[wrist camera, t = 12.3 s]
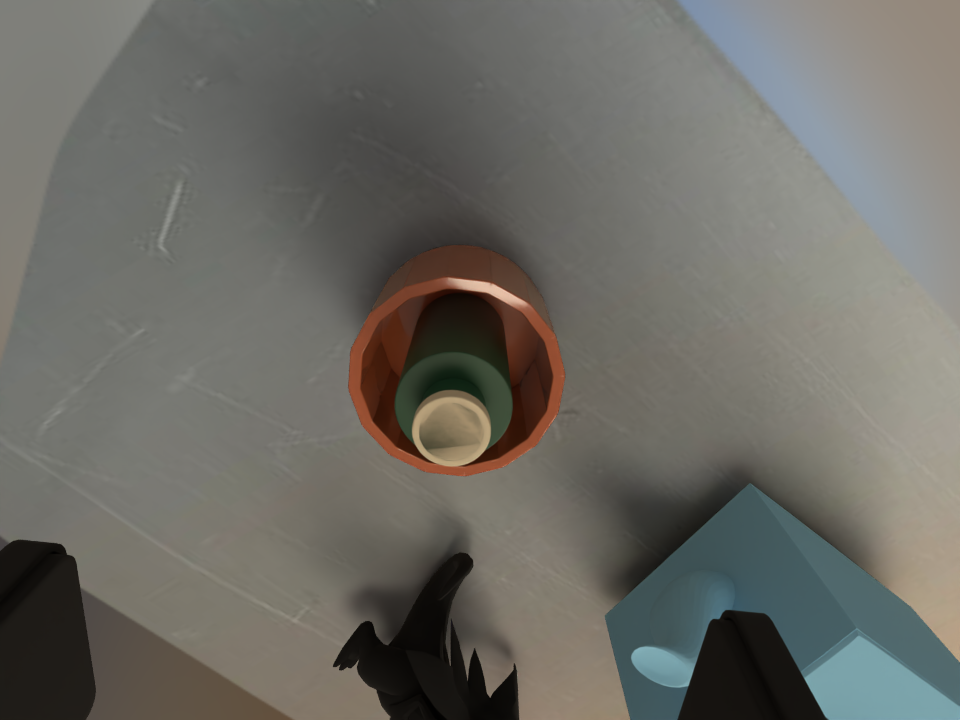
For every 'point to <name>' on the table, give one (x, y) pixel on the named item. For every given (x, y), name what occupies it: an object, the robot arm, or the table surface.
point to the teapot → (781, 621)
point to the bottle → (455, 381)
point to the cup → (526, 341)
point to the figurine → (429, 661)
